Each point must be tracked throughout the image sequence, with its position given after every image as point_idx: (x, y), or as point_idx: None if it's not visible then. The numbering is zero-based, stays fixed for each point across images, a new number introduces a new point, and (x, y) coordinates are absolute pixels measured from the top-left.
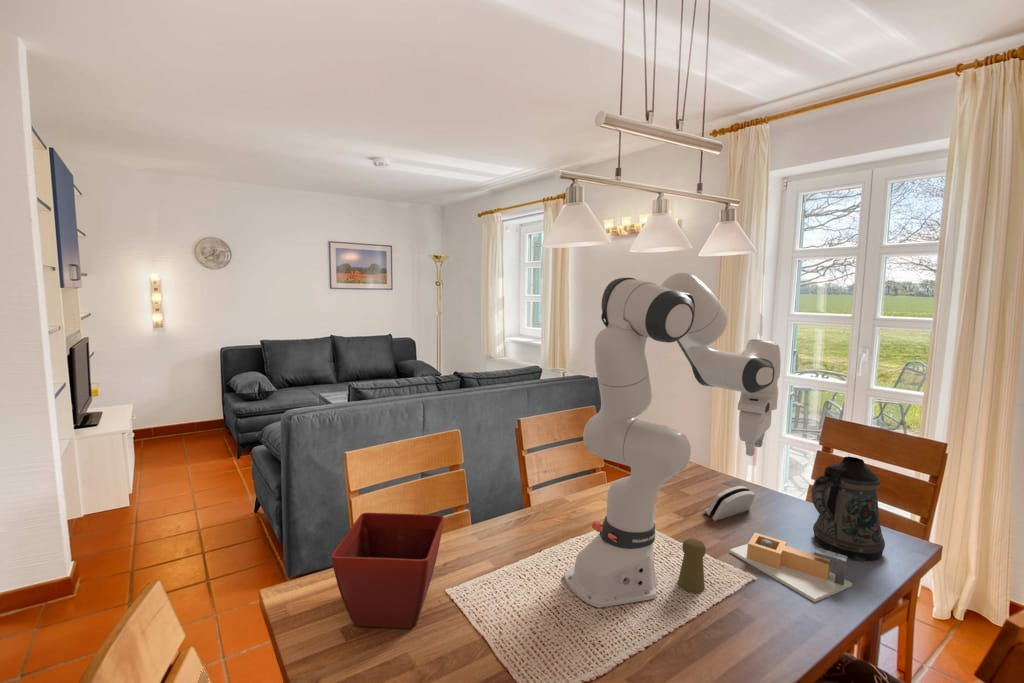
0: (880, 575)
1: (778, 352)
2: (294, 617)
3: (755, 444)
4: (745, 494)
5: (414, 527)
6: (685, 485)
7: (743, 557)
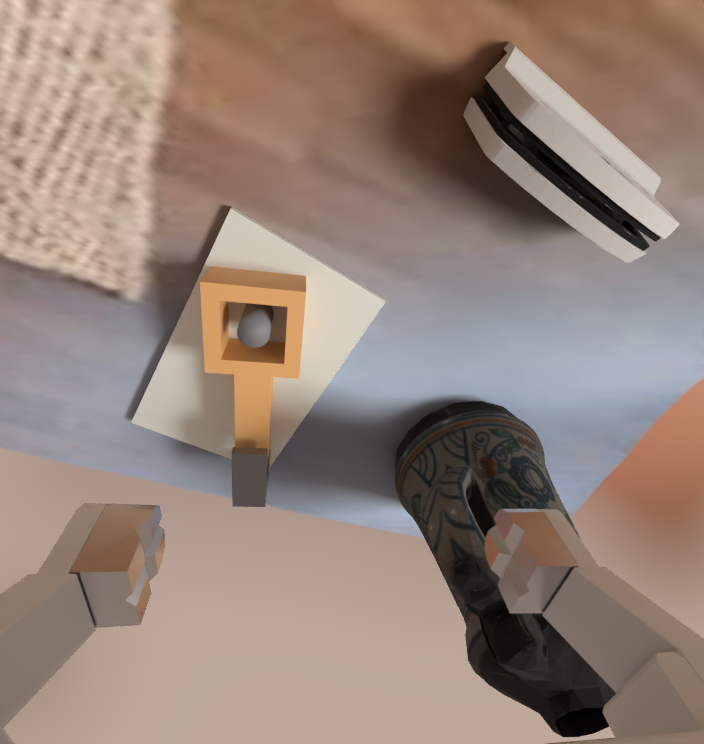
0: (352, 500)
1: None
2: None
3: (508, 527)
4: (585, 235)
5: None
6: None
7: (208, 256)
